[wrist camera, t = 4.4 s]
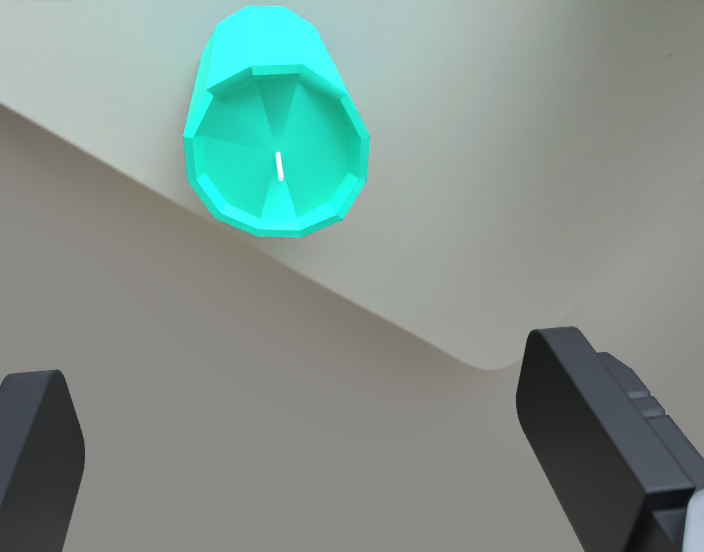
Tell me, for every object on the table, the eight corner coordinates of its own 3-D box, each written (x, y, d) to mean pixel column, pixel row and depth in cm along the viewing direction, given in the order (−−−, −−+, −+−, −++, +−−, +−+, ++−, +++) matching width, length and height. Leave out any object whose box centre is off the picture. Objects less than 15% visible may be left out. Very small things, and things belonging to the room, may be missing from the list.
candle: (358, 75, 29) (419, 176, 19) (269, 161, 31) (282, 296, 21) (265, -28, 26) (279, 28, 16) (172, 72, 28) (132, 180, 18)
